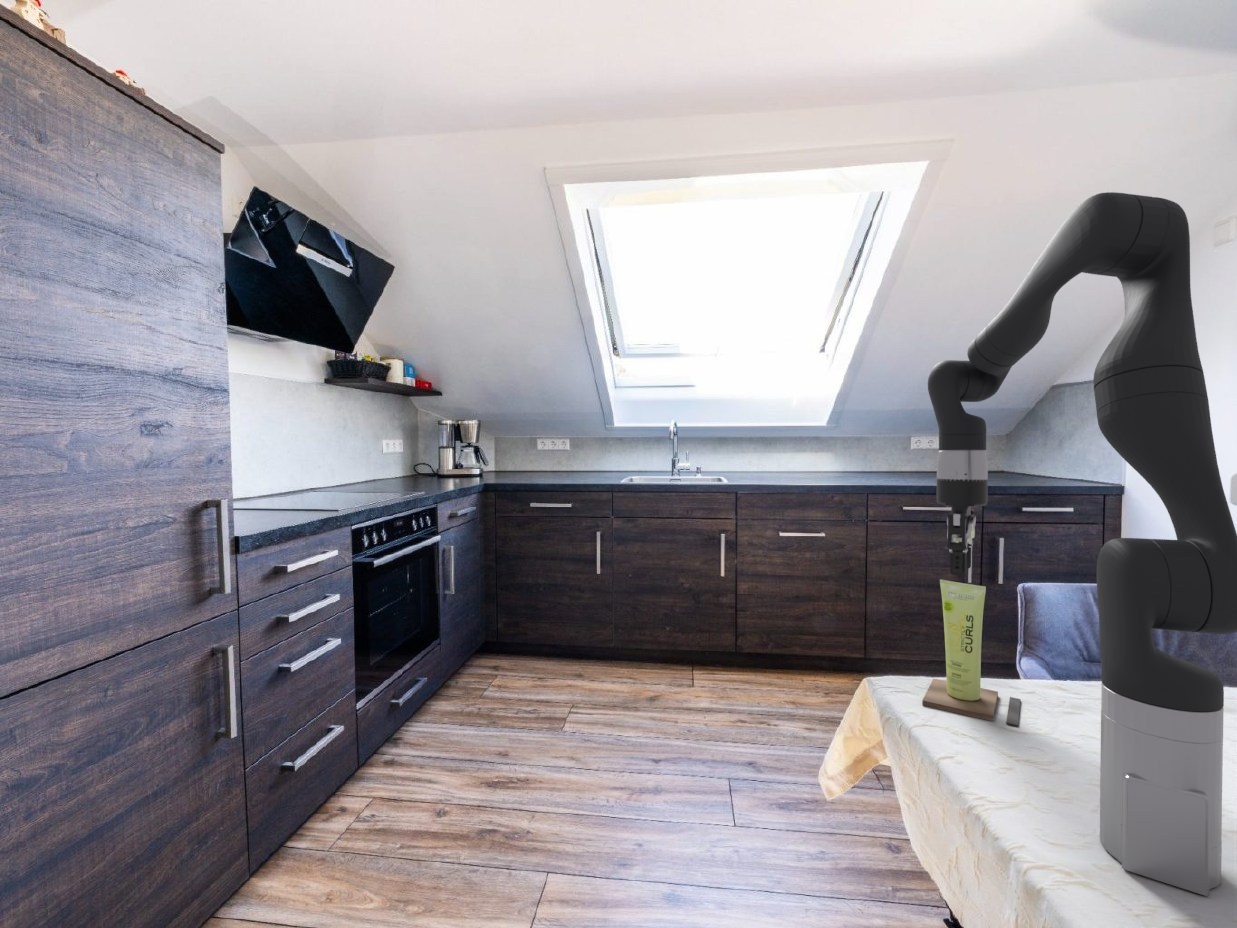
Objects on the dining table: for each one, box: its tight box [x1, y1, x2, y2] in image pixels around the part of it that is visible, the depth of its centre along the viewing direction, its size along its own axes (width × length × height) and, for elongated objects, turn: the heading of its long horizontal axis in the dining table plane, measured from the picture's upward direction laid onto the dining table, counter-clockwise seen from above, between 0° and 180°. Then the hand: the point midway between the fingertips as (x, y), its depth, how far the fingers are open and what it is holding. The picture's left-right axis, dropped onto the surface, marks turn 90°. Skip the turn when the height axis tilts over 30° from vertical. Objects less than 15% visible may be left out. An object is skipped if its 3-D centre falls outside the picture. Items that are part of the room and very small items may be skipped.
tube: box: [939, 579, 987, 701], centre depth 99 cm, size 6×5×20 cm
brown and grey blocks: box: [922, 678, 1021, 728], centre depth 98 cm, size 12×13×1 cm
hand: (960, 571), depth 99 cm, fingers open, 8 cm apart
